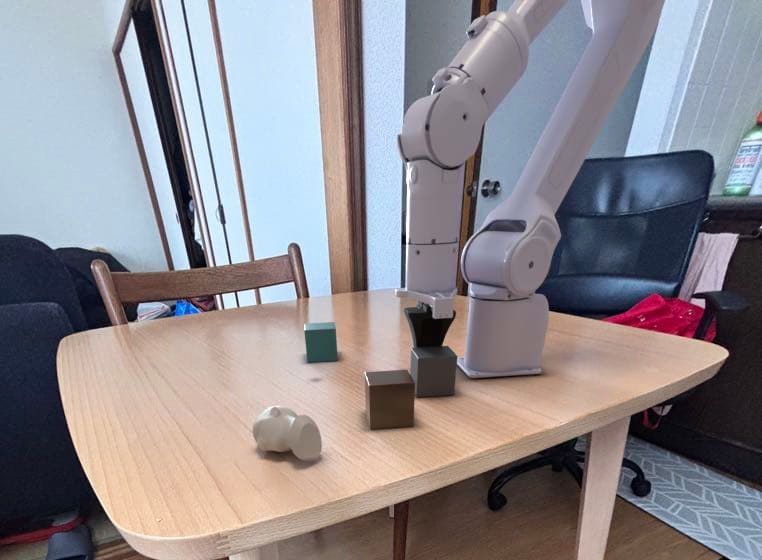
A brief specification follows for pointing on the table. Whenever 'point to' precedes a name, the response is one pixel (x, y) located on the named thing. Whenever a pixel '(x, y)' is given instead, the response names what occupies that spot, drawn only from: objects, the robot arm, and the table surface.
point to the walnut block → (389, 399)
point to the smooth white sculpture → (287, 433)
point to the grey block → (433, 371)
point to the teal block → (321, 342)
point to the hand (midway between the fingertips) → (426, 369)
